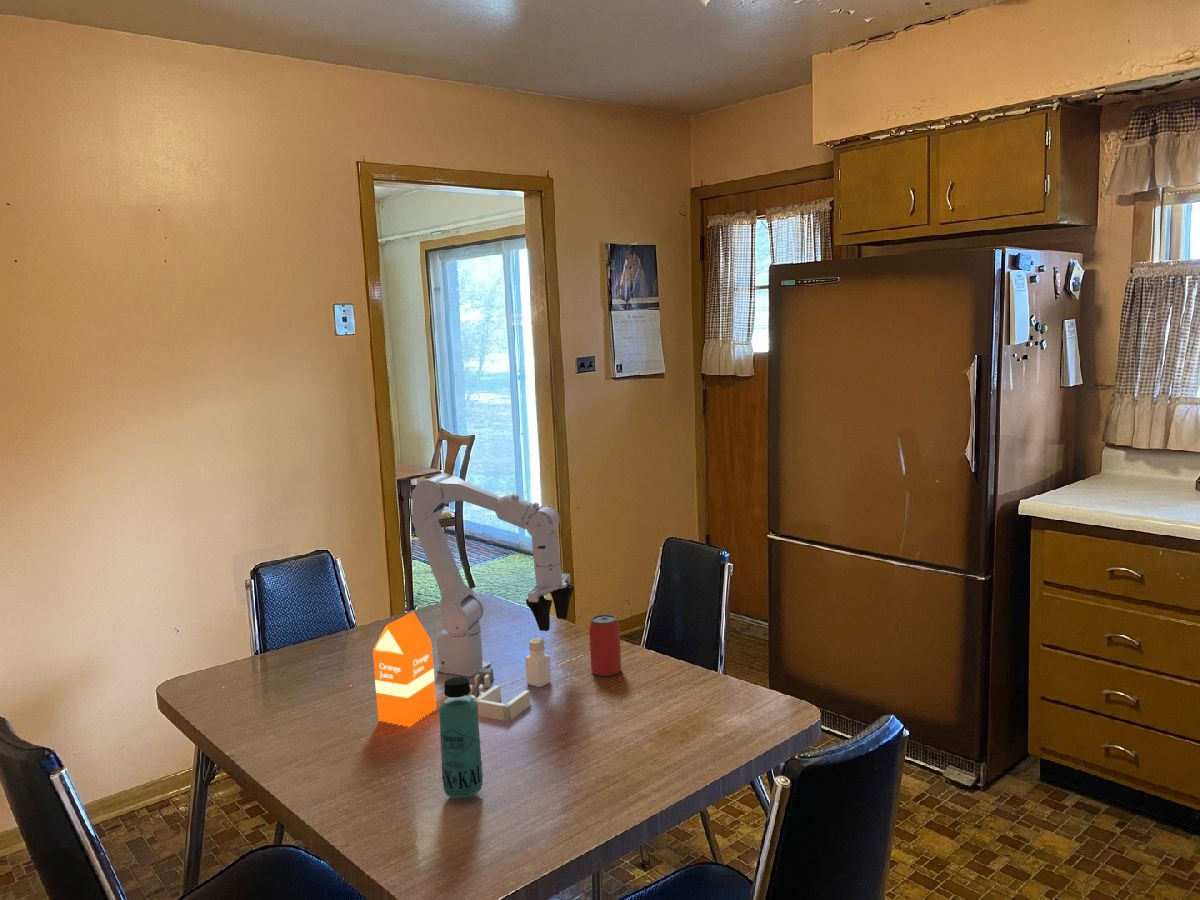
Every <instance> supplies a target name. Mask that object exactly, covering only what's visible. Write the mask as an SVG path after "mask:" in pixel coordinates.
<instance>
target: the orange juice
mask: <svg viewBox="0 0 1200 900" xmlns="http://www.w3.org/2000/svg"><path fill="white" fill-rule="evenodd" d="M372 656H373V658H372V659H373V667H374V668H373V669H374V670H373V671H374V685H375V694H376V704H377V705H376V706H377V715H378V717H377V718H378V722H379V721H383V722H388V723H387V724H389V723H393V724H392V725H394V724H398V725H397V726H400V725H403V726H402V727H405V726H408V727H407V728H411V727H413V726H414V725H415V724H414V723H416V722H417V721H418V722H419V720H420V719H421V720H423V719H424V718H425V716H426V715H427V716H429V715H430V714H431V713H432V711H433V712H434V711H436V710H437V702H436V699H437V698H436V687H435V686H436V685H435V669H434V659H433V658H434V657H433V644H432V639H431V638H430V636H429V634H428V632H427V631H426V629H425V627H423V625H422V623H421V622H420V620H419V619H418V616H416V613H415V612H414V611H411V612H410V613H408V614H406V615H403V616H402V617H400V618H398V619H396V620H394V621H392V622H389V623H388V624H386V625H385V627H384V628H383V631H382V632H381V634H380V636H379V638H378V640H377V642H376V643H375V645H374V647H373V650H372ZM435 709H436V710H435ZM429 713H430V714H429ZM423 717H424V718H423ZM422 718H423V719H422ZM421 720H420V721H421ZM383 722H382V723H383ZM418 722H417V723H418ZM417 723H416V724H417ZM413 724H414V725H413ZM412 725H413V726H412ZM410 726H411V727H410Z"/></svg>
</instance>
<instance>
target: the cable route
mask: <svg viewBox="0 0 1200 900" xmlns="http://www.w3.org/2000/svg"><path fill="white" fill-rule="evenodd" d="M477 674H480V682H479V683H478V684H477V686H476V687H474V689H473V695H474V696H475V697H476V698H478V695H479V686H480V685H482V684H483V685H484V677H485V676H486V675H490V682H491V683H492V682H493V680H494V678H495V677H494V668H493V667H492V668H489V667H486V668H481V669H480V670H479V672H478V673H477Z"/></svg>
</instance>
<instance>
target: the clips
mask: <svg viewBox="0 0 1200 900" xmlns="http://www.w3.org/2000/svg"><path fill="white" fill-rule="evenodd" d="M473 681H474V685H473V684H470V690H471V691H470V693H469V694H467V696H469V697H470V698H472V699H473V700H475V699H476V697H475V696H474V695H473V693H474V688H475V687H476V686H477V684H478V683H479V682H480V674H478V673H477V674H475V675H474V676H473ZM491 685H492V682H490V675H486V676H485V677H484V685H483V684H482V685H480V686H479V695H478V697H479V696H481V695H482V694H484V693H485V692H486V691H485V689H489V688H490V686H491Z"/></svg>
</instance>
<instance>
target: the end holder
mask: <svg viewBox="0 0 1200 900" xmlns="http://www.w3.org/2000/svg"><path fill="white" fill-rule="evenodd" d="M484 692H485V693H484V694H482V695H481V696H479V697H478V698H476V699H475V701H476V702H477V704H478V717H481V718H482V717H484V718H488V719H494V720H497V721H498V720H499V721H504V722H510V721H511V720H513V719H514V718H516V717H517V716H518V715H519V714H520V713H522V712H523V711H524V710H527V708H528V707H530V706H531V696H530V695H531V694H530V690H527V689H526V690H523V691H522V692H520V693H519V694H517V695H516V696H515V697H513V698H512V699H510V701H508V702H506V703H503V702H500V701H501V700H502V691H501V685H498V684H495V685H494V686H493V687H491V688H490V689H488V690H487V691H484Z"/></svg>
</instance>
